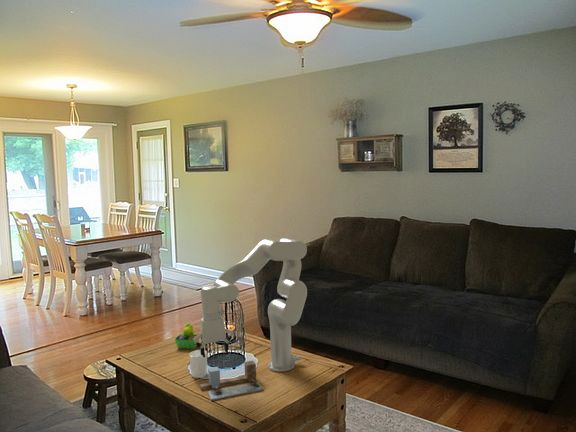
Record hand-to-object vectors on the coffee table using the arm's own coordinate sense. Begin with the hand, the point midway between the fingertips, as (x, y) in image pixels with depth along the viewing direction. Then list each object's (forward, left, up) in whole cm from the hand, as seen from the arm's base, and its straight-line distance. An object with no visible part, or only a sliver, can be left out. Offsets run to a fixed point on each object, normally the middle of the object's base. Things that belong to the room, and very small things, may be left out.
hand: (214, 353), depth 202 cm
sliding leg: (+1, +1, -14) cm, 14 cm away
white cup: (+5, -14, -14) cm, 21 cm away
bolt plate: (-6, +9, -14) cm, 18 cm away
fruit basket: (+4, -50, -15) cm, 52 cm away
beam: (-5, +1, -14) cm, 15 cm away
